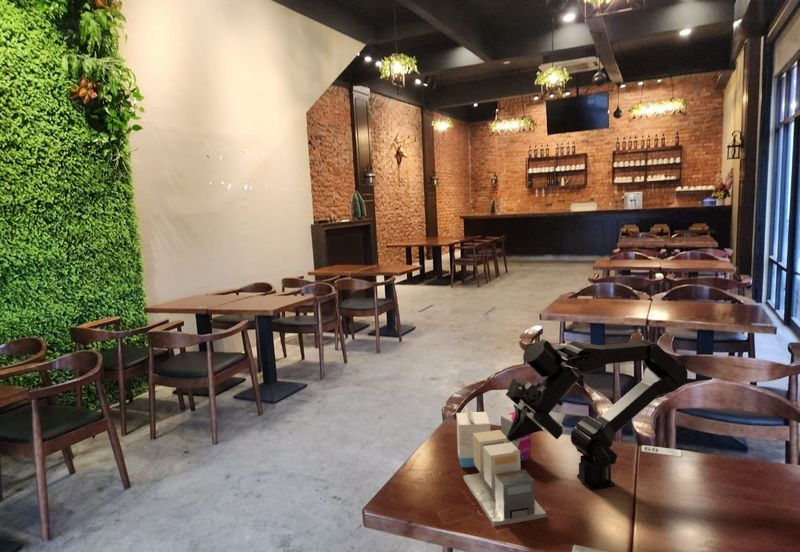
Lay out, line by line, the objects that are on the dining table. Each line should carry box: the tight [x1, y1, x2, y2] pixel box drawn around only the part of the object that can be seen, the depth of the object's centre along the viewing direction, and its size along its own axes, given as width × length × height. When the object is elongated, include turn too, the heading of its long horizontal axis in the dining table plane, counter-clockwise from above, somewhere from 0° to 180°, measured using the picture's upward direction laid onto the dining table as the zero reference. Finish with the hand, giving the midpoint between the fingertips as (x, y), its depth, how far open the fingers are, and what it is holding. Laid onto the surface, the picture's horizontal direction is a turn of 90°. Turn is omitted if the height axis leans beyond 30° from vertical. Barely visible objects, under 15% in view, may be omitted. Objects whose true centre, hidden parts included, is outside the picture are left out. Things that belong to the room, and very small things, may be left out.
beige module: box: [473, 429, 508, 473], centre depth 126 cm, size 7×5×8 cm
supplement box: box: [500, 411, 532, 462], centre depth 139 cm, size 6×6×12 cm
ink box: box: [455, 406, 492, 469], centre depth 139 cm, size 9×8×13 cm
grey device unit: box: [463, 469, 547, 527], centre depth 120 cm, size 12×20×9 cm, turn 11°
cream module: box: [483, 442, 522, 488], centre depth 119 cm, size 7×5×8 cm
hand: (508, 439), depth 119 cm, fingers closed
